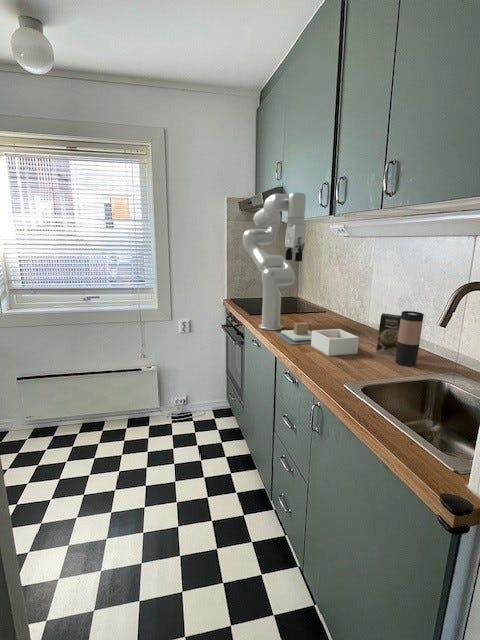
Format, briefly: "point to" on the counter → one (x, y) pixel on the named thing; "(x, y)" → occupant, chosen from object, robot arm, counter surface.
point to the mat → (292, 340)
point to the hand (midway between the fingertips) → (293, 260)
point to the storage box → (334, 342)
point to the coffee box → (388, 334)
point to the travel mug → (409, 338)
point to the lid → (299, 332)
